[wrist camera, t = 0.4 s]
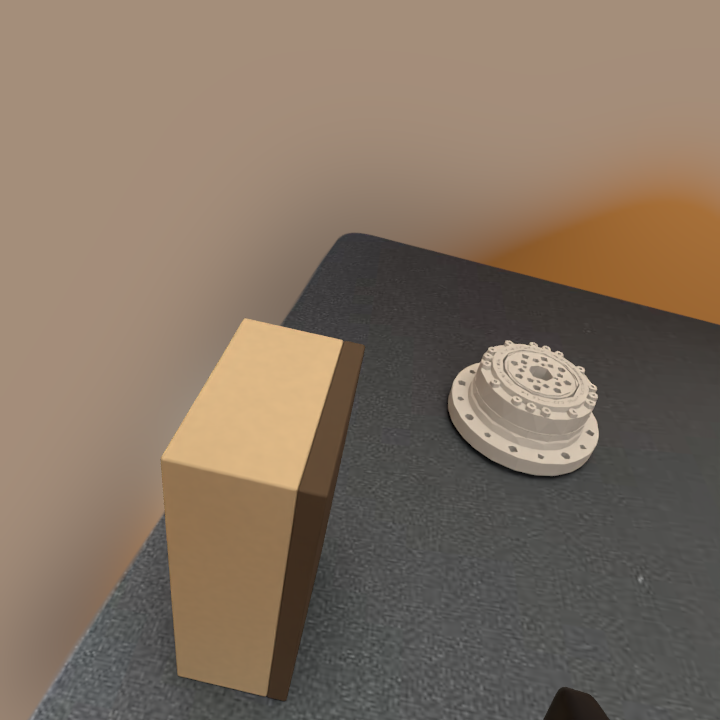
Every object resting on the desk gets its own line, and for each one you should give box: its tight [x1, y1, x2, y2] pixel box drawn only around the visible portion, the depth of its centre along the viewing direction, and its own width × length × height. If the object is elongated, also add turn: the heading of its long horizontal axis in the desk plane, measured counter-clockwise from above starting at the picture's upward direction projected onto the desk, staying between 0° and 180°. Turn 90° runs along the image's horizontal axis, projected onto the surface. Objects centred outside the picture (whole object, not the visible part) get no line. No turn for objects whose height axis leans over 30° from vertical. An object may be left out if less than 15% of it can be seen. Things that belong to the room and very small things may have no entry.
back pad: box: [161, 319, 365, 701], centre depth 21 cm, size 4×7×13 cm, turn 171°
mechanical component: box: [448, 341, 599, 476], centre depth 37 cm, size 10×4×10 cm
